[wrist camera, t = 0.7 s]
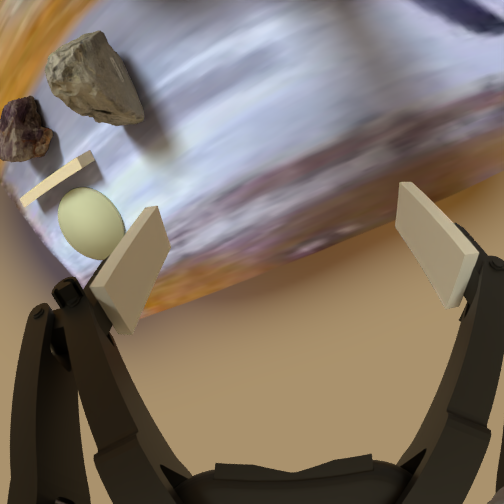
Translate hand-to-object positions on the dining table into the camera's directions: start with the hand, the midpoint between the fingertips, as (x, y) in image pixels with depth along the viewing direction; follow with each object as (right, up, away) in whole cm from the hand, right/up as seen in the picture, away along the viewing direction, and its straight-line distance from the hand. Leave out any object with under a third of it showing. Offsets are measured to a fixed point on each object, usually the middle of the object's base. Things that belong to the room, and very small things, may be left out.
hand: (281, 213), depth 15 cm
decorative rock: (-21, +23, +17) cm, 36 cm away
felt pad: (-31, +3, +32) cm, 45 cm away
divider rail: (-36, +12, +26) cm, 46 cm away
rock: (-40, +20, +21) cm, 49 cm away
